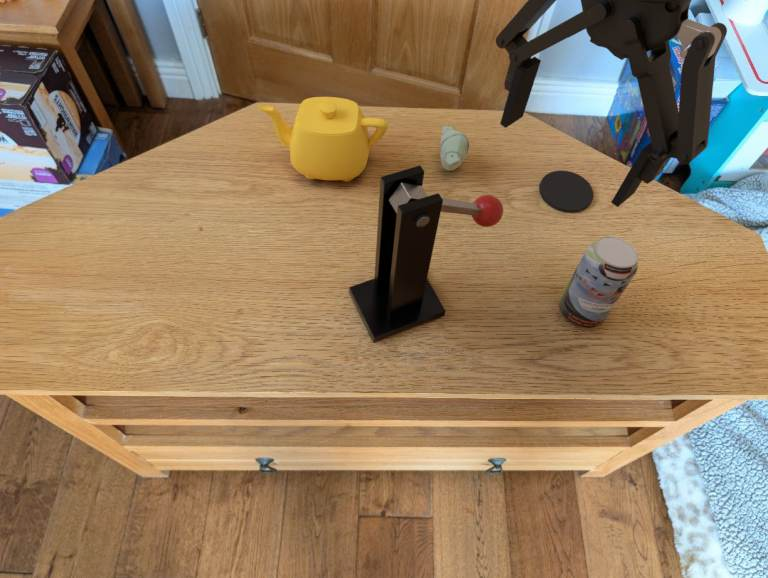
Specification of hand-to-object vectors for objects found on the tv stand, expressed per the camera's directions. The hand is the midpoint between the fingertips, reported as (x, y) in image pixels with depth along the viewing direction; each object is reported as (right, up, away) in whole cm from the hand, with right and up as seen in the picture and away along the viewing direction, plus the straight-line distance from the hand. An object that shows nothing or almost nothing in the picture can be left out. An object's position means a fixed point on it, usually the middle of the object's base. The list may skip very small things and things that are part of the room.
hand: (564, 157), depth 54 cm
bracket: (-16, -15, +18) cm, 28 cm away
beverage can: (+8, -16, +19) cm, 26 cm away
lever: (-11, -5, +6) cm, 14 cm away
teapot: (-26, +6, +31) cm, 41 cm away
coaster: (+10, +2, +30) cm, 32 cm away
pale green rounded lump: (-7, +6, +32) cm, 33 cm away
